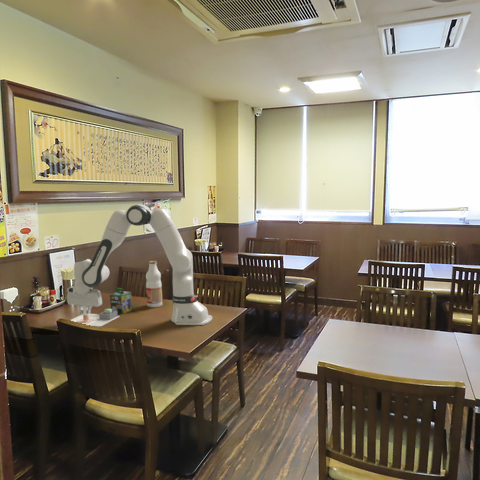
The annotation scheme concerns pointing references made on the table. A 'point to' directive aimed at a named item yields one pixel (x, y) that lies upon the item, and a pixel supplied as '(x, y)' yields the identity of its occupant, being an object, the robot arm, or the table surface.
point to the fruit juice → (153, 286)
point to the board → (97, 318)
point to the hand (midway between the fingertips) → (85, 313)
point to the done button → (108, 311)
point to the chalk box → (121, 301)
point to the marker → (85, 313)
